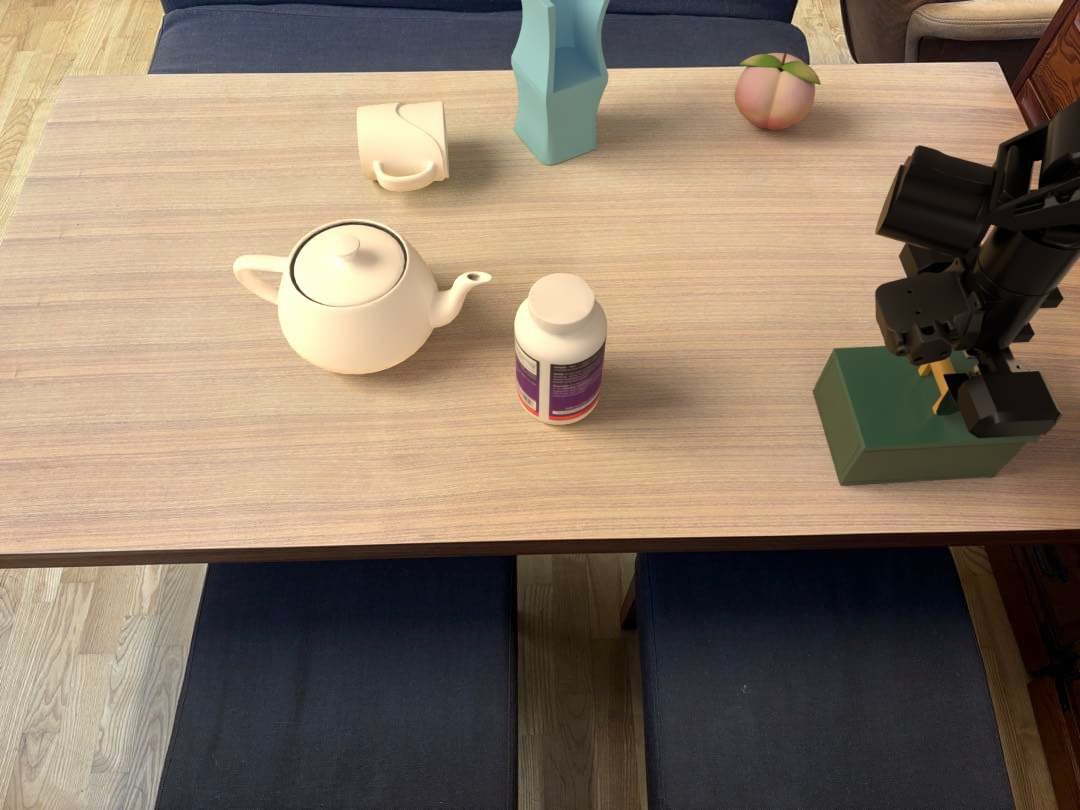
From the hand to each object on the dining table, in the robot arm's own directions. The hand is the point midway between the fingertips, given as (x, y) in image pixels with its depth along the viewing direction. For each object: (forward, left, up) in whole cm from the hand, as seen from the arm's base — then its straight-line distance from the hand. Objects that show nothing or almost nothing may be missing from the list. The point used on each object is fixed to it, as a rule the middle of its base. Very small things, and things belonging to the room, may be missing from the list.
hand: (932, 387), depth 74 cm
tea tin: (0, 0, -8) cm, 8 cm away
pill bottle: (+32, +4, -8) cm, 33 cm away
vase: (+41, -32, -8) cm, 53 cm away
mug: (+56, -21, -8) cm, 61 cm away
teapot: (+52, +1, -8) cm, 53 cm away
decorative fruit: (+17, -41, -8) cm, 45 cm away
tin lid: (0, 0, -1) cm, 1 cm away
